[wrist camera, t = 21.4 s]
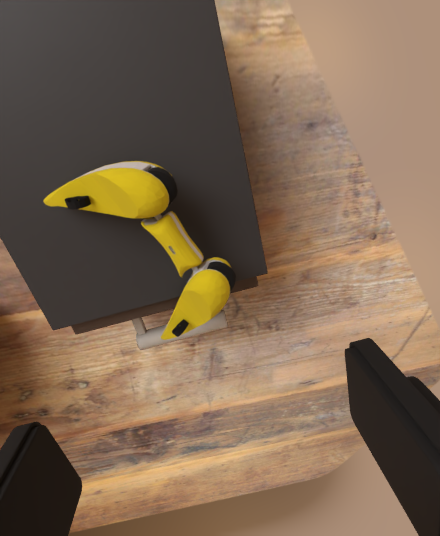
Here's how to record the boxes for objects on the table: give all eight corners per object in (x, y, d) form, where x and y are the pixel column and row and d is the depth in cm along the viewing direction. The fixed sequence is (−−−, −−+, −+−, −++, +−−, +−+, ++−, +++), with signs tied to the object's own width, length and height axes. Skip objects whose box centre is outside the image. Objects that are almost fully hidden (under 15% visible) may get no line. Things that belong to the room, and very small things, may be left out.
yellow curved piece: (260, 282, 18) (252, 324, 15) (176, 311, 21) (156, 351, 18) (159, 118, 14) (122, 134, 11) (73, 182, 17) (27, 207, 14)
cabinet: (242, 231, 27) (267, 273, 19) (93, 271, 27) (52, 330, 19) (195, 16, 21) (202, -63, 13) (0, 68, 21) (-122, 23, 13)
